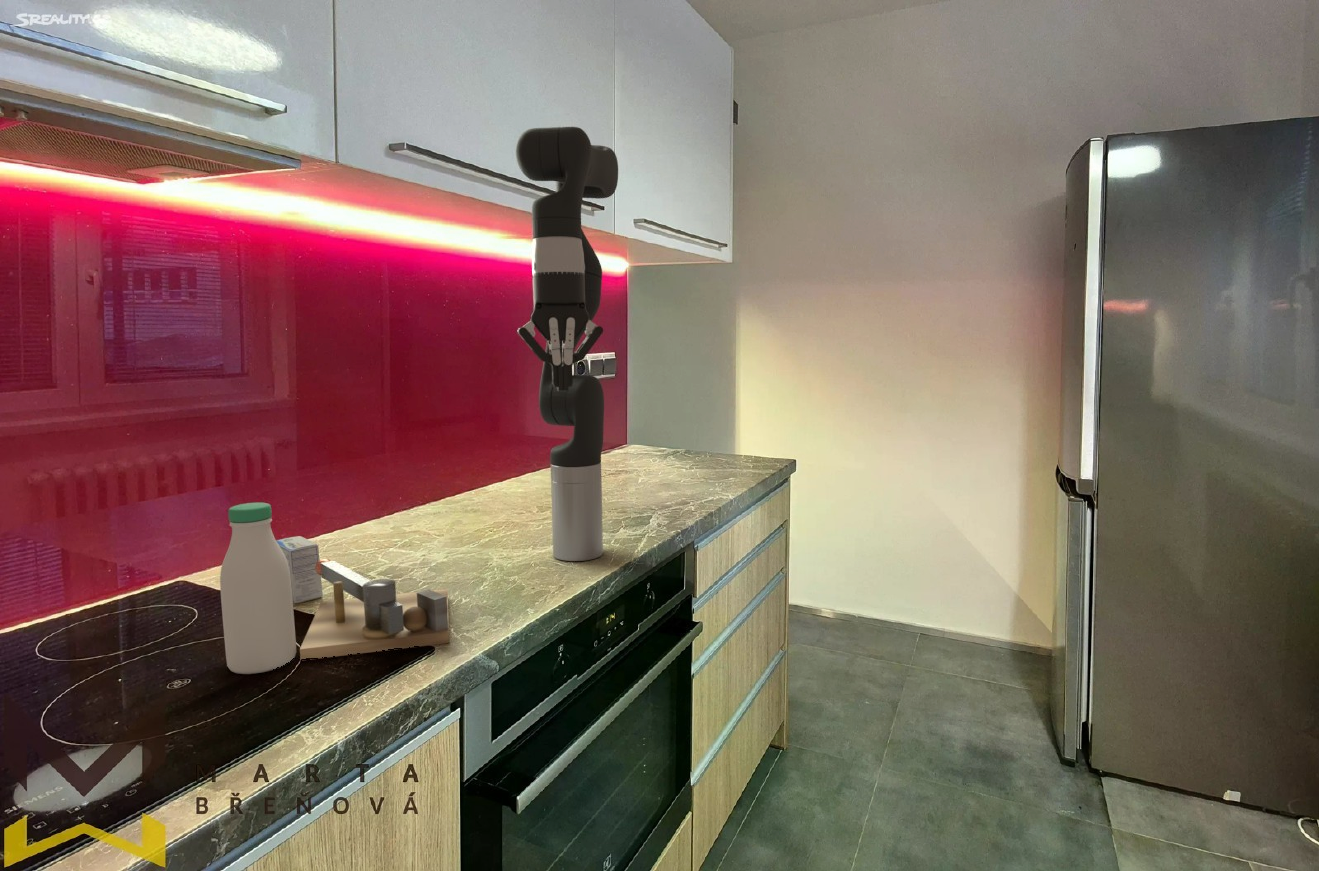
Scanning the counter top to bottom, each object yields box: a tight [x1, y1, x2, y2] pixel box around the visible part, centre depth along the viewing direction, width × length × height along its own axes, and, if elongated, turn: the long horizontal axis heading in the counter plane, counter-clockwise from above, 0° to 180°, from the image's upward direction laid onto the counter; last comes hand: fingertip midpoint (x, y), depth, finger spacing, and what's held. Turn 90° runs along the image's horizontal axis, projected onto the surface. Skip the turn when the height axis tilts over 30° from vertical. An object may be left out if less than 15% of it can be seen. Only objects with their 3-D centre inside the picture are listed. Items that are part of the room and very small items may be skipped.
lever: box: [315, 558, 404, 635], centre depth 104 cm, size 25×4×5 cm, turn 44°
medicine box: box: [276, 535, 324, 604], centre depth 118 cm, size 8×4×9 cm, turn 45°
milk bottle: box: [219, 502, 297, 675], centre depth 92 cm, size 8×8×20 cm
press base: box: [299, 581, 450, 660], centre depth 104 cm, size 18×18×7 cm
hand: (562, 390), depth 111 cm, fingers closed
